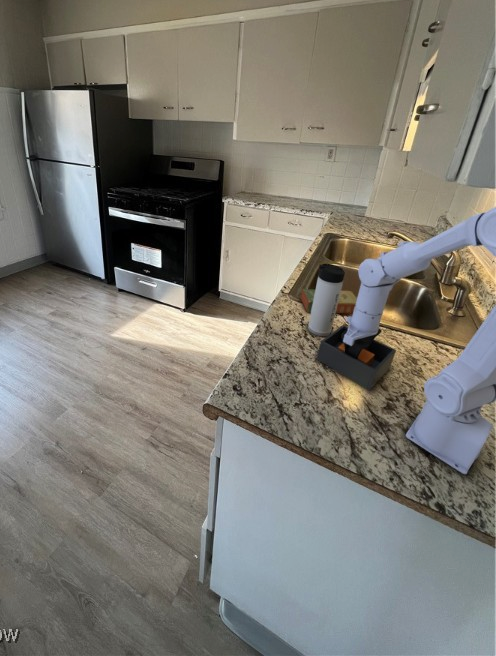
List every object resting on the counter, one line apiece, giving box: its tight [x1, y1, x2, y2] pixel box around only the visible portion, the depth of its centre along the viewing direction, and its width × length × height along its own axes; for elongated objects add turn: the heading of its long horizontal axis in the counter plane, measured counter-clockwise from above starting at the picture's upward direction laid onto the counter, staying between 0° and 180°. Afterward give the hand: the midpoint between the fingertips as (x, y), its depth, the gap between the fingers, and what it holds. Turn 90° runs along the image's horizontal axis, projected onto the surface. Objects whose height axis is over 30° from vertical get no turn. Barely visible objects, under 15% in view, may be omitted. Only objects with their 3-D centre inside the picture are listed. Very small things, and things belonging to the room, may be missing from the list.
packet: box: [338, 343, 375, 366], centre depth 76 cm, size 7×4×3 cm, turn 41°
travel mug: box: [307, 262, 346, 337], centre depth 85 cm, size 6×7×20 cm
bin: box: [316, 324, 397, 392], centre depth 76 cm, size 13×11×6 cm
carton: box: [300, 288, 357, 315], centre depth 100 cm, size 8×16×4 cm, turn 89°
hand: (354, 356), depth 76 cm, fingers closed on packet, 4 cm apart
